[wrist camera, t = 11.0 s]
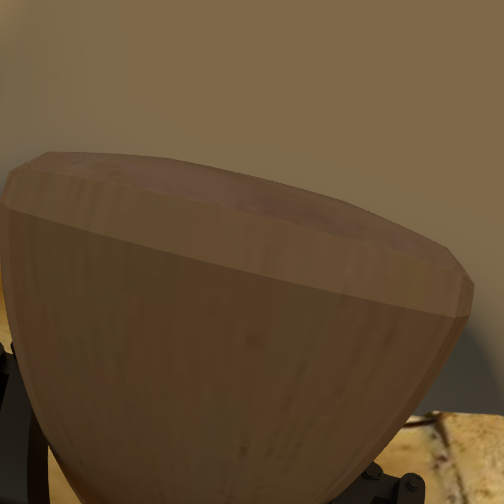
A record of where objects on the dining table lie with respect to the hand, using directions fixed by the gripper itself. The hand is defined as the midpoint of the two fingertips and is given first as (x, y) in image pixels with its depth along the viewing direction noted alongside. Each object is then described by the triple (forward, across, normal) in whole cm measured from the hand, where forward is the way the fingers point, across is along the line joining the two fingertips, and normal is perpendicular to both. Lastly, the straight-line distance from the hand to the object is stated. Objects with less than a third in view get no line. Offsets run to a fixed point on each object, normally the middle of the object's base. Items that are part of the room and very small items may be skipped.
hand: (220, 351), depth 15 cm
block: (-4, 0, -11) cm, 12 cm away
